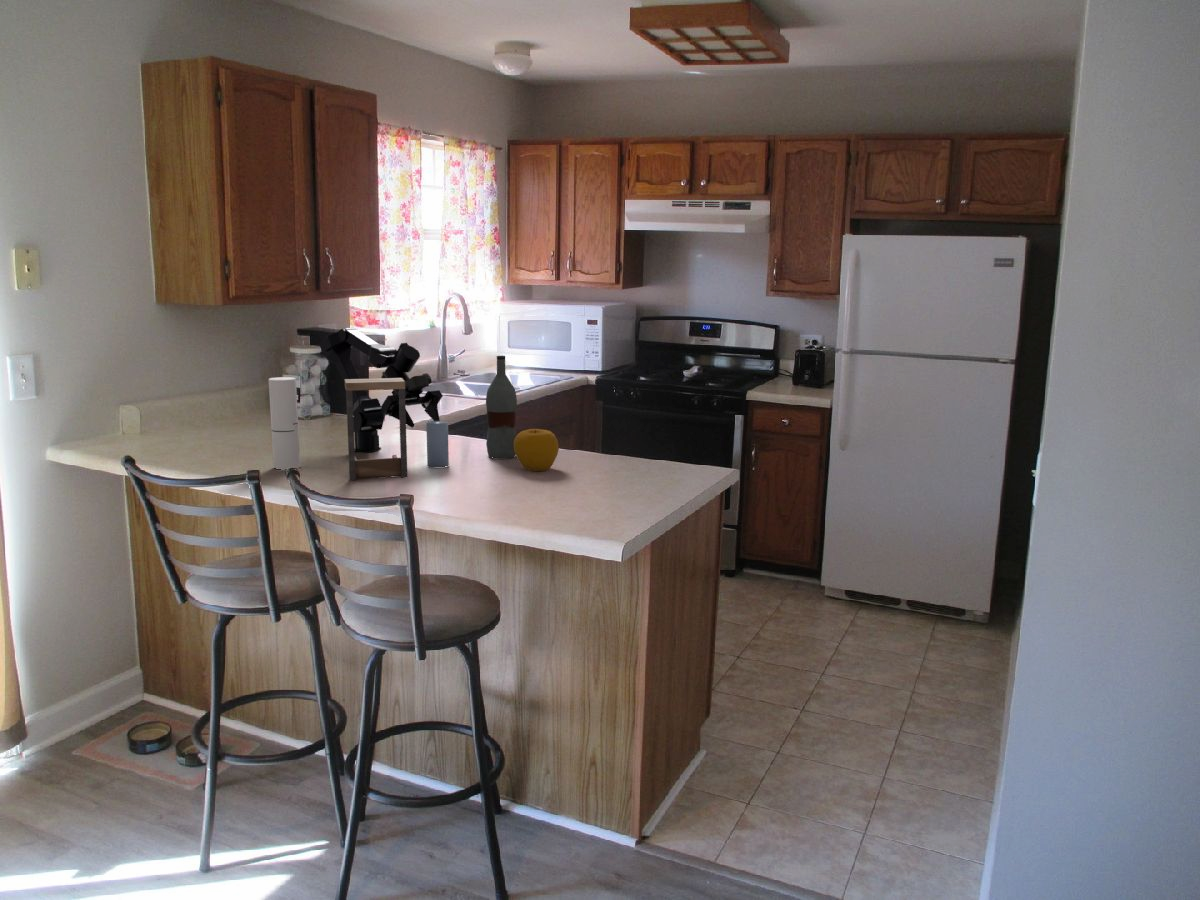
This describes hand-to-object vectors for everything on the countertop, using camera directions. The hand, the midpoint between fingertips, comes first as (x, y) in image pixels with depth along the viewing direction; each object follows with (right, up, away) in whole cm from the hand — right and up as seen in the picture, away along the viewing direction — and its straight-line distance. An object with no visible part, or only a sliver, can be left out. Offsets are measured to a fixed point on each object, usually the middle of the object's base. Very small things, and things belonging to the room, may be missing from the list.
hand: (426, 424), depth 275 cm
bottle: (+20, -9, +14) cm, 26 cm away
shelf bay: (-12, -14, -11) cm, 21 cm away
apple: (+32, -13, -4) cm, 34 cm away
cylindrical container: (-38, -12, -5) cm, 40 cm away
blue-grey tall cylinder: (+4, -12, -1) cm, 12 cm away
